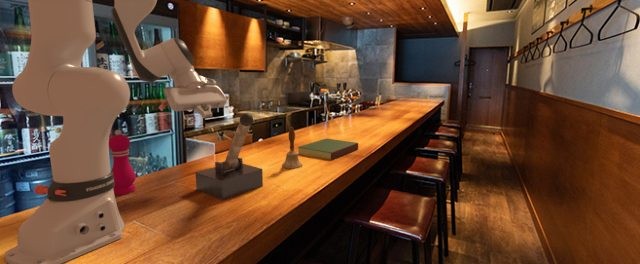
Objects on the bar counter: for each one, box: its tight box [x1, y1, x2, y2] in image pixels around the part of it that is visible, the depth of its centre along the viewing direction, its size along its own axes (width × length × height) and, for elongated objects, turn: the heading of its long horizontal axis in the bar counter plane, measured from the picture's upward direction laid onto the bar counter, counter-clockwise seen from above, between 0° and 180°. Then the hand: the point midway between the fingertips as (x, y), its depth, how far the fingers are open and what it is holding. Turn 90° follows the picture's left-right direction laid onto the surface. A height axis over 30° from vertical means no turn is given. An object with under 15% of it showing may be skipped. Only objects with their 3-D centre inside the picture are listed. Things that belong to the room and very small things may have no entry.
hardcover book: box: [297, 138, 359, 161], centre depth 164 cm, size 25×19×4 cm
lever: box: [220, 112, 254, 171], centre depth 107 cm, size 4×6×22 cm
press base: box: [195, 157, 264, 201], centre depth 112 cm, size 14×16×9 cm
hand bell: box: [281, 126, 303, 170], centre depth 138 cm, size 8×8×16 cm
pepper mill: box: [109, 129, 137, 196], centre depth 108 cm, size 7×7×20 cm
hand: (208, 116), depth 115 cm, fingers closed
